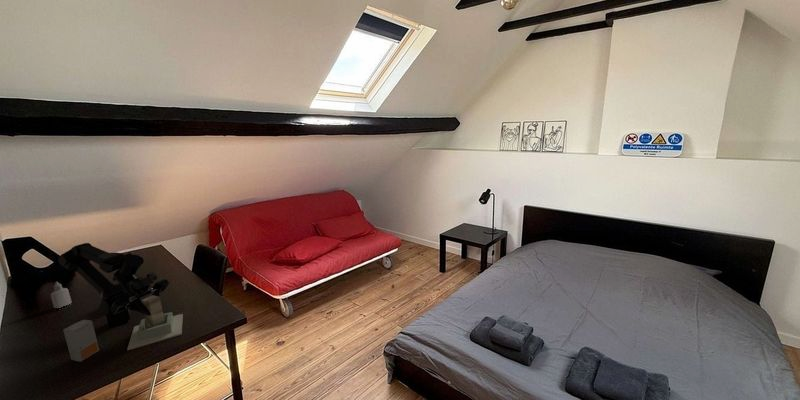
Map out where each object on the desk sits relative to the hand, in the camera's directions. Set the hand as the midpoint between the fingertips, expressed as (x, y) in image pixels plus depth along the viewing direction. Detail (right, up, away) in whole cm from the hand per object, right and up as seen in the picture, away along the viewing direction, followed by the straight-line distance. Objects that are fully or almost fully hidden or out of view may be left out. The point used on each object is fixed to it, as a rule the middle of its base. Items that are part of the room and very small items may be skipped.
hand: (155, 312), depth 123 cm
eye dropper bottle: (-58, -5, +22) cm, 62 cm away
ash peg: (-1, -6, +2) cm, 7 cm away
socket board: (-1, -8, +2) cm, 9 cm away
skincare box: (-16, -12, -10) cm, 23 cm away
